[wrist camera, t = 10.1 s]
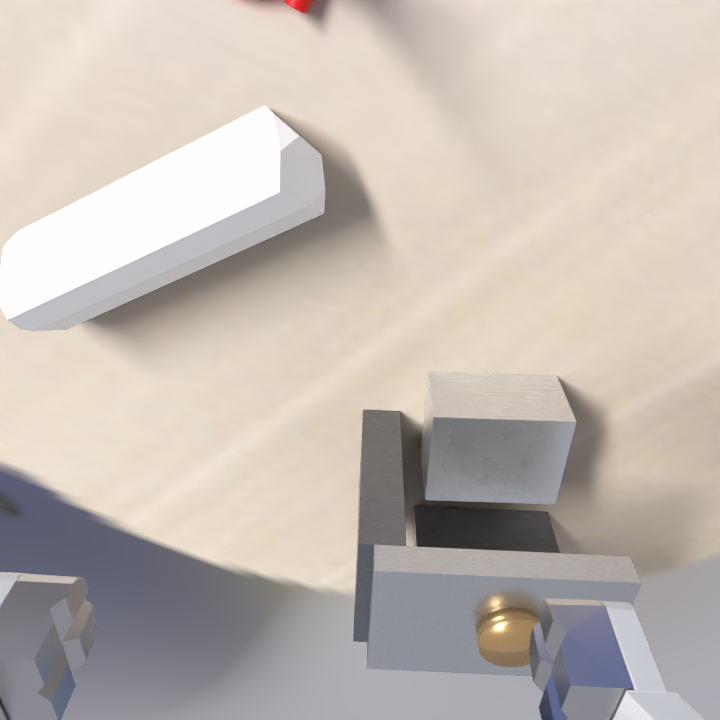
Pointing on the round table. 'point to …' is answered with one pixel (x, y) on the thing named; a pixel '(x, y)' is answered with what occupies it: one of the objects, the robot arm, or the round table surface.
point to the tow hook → (300, 4)
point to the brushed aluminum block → (495, 437)
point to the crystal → (162, 223)
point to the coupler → (458, 573)
